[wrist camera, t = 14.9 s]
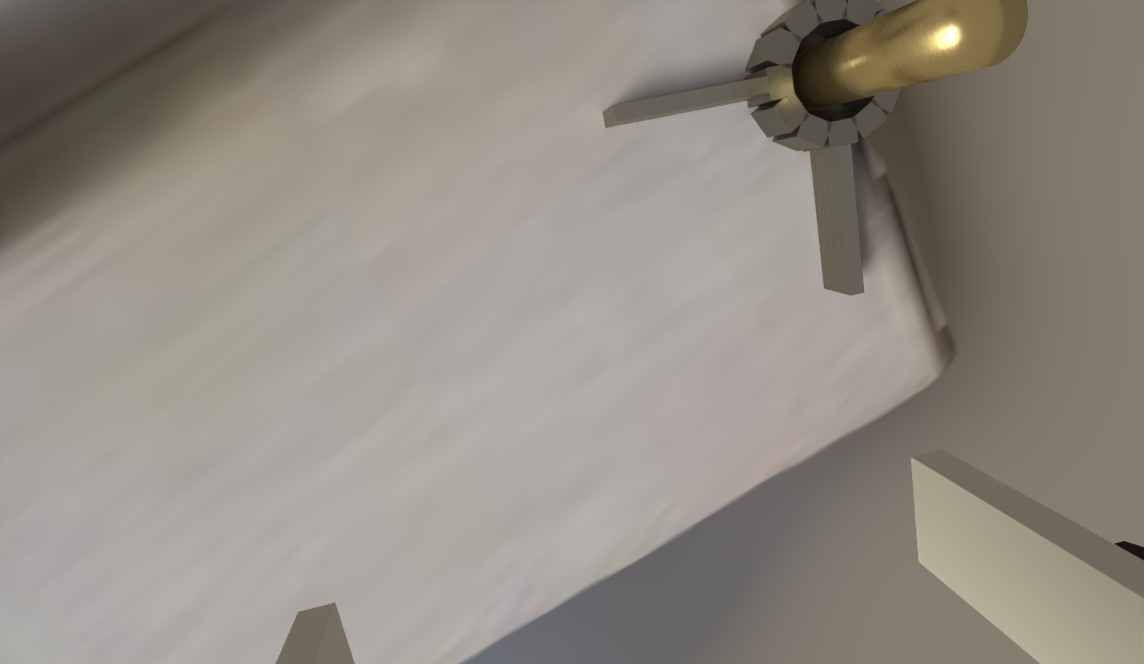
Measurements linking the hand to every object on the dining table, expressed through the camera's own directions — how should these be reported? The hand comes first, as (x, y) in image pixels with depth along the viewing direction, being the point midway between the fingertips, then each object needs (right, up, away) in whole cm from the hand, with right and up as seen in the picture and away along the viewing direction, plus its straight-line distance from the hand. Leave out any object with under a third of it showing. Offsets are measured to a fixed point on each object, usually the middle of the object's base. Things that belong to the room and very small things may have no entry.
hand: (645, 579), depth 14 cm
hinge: (+11, +17, +31) cm, 37 cm away
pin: (+15, +23, +30) cm, 40 cm away
